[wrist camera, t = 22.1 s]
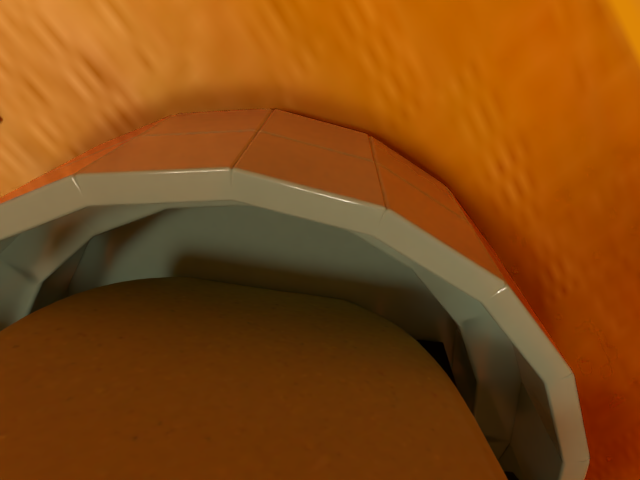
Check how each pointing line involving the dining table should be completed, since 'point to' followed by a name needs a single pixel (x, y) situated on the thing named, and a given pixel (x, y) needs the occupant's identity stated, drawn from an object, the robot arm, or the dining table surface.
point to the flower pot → (226, 390)
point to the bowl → (301, 253)
